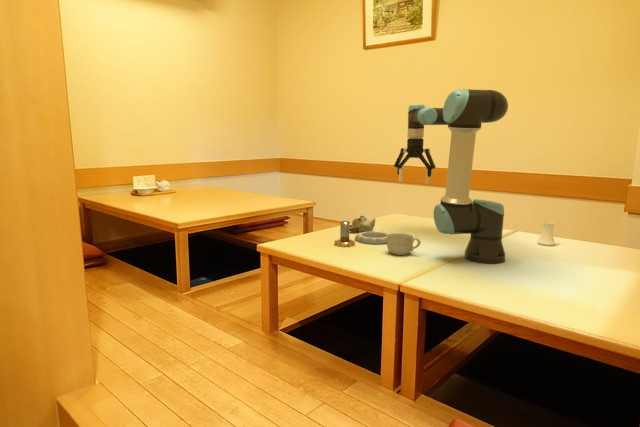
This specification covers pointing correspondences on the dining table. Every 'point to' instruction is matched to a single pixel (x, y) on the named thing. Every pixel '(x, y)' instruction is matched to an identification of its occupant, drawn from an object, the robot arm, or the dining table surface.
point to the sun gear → (344, 236)
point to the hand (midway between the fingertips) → (413, 182)
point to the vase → (547, 234)
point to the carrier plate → (372, 238)
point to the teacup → (401, 243)
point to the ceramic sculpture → (362, 224)
